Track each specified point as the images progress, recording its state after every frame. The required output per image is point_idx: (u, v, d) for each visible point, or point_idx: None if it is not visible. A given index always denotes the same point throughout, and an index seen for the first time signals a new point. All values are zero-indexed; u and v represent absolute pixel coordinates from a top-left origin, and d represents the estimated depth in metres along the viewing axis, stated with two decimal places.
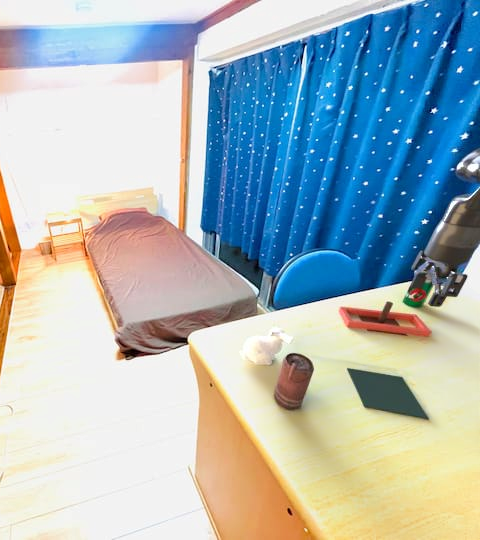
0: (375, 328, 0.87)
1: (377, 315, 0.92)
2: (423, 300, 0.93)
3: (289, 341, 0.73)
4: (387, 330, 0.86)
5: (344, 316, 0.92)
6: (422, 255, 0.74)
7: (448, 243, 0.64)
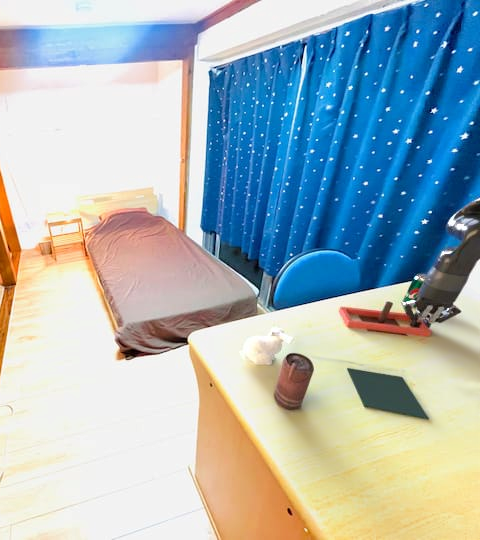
0: (375, 328, 0.87)
1: (377, 315, 0.92)
2: None
3: (289, 341, 0.73)
4: (387, 330, 0.86)
5: (344, 316, 0.92)
6: (410, 306, 0.83)
7: None
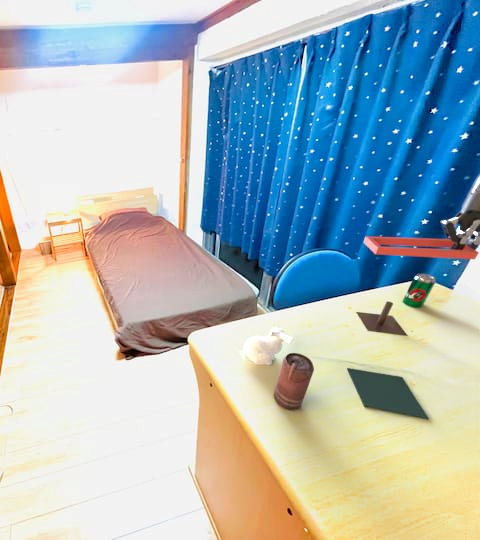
0: (409, 253, 0.74)
1: (410, 243, 0.79)
2: (423, 300, 0.93)
3: (289, 341, 0.73)
4: (424, 255, 0.73)
5: (371, 244, 0.79)
6: None
7: None
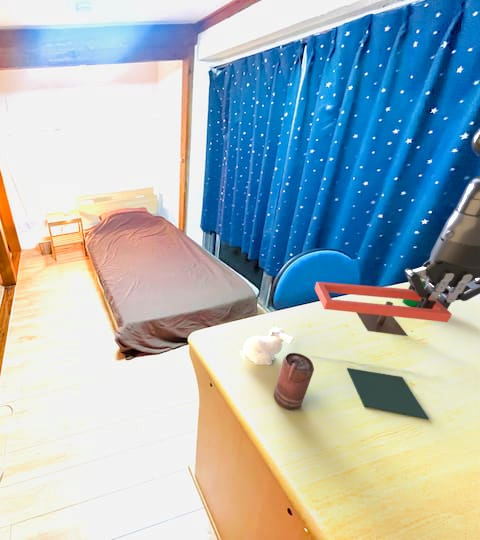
0: (366, 310, 0.58)
1: (369, 293, 0.63)
2: None
3: (289, 341, 0.73)
4: (384, 313, 0.57)
5: (321, 294, 0.63)
6: (418, 276, 0.55)
7: None
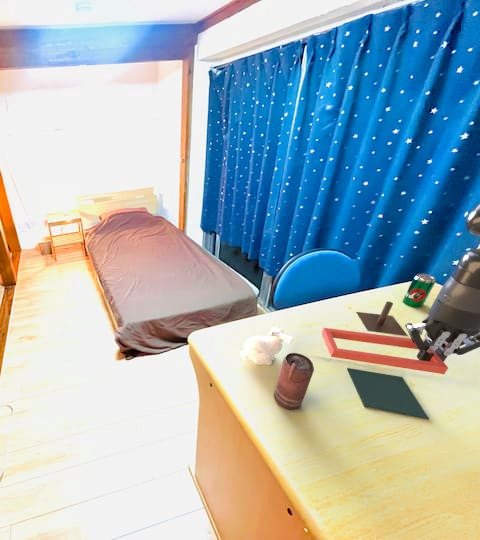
0: (369, 360, 0.63)
1: (372, 340, 0.68)
2: (423, 300, 0.93)
3: (289, 341, 0.73)
4: (386, 363, 0.62)
5: (328, 342, 0.68)
6: (418, 332, 0.60)
7: None
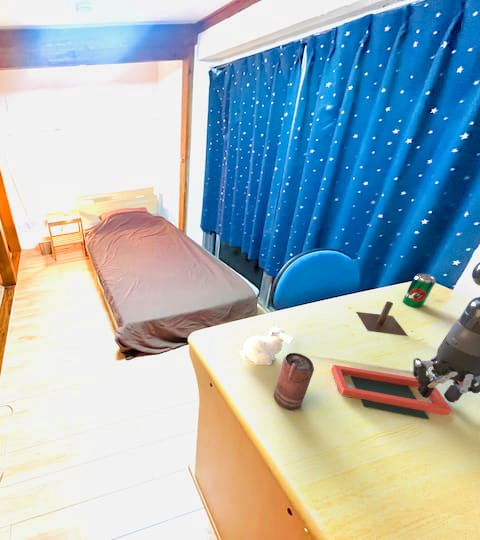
0: (378, 400, 0.67)
1: (380, 378, 0.72)
2: (423, 300, 0.93)
3: (289, 341, 0.73)
4: (393, 403, 0.66)
5: (338, 380, 0.72)
6: None
7: None
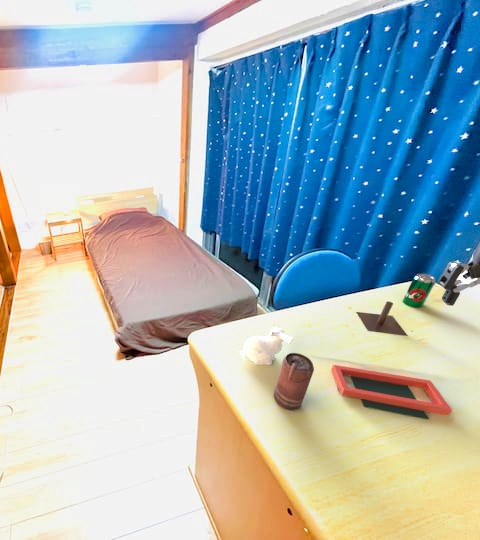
0: (378, 400, 0.67)
1: (380, 378, 0.72)
2: (423, 300, 0.93)
3: (289, 341, 0.73)
4: (393, 403, 0.66)
5: (338, 380, 0.72)
6: None
7: None
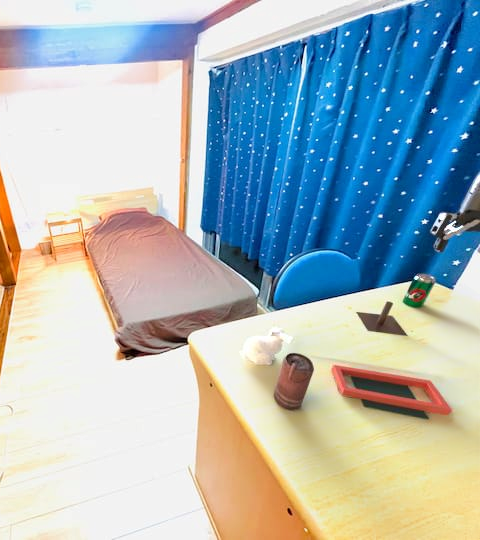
0: (378, 400, 0.67)
1: (380, 378, 0.72)
2: (423, 300, 0.93)
3: (289, 341, 0.73)
4: (393, 403, 0.66)
5: (338, 380, 0.72)
6: None
7: None
